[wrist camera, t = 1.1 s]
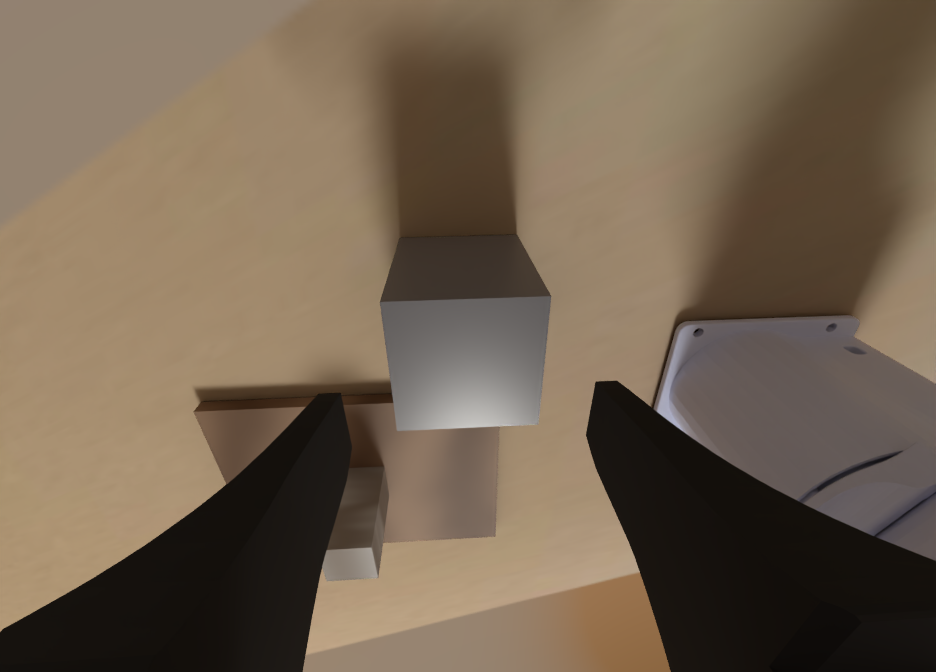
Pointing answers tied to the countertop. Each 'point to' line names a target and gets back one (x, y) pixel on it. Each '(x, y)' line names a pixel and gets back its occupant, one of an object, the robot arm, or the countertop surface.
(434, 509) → the flat brown plate
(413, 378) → the gray rectangular prism
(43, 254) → the countertop surface
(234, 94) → the countertop surface
